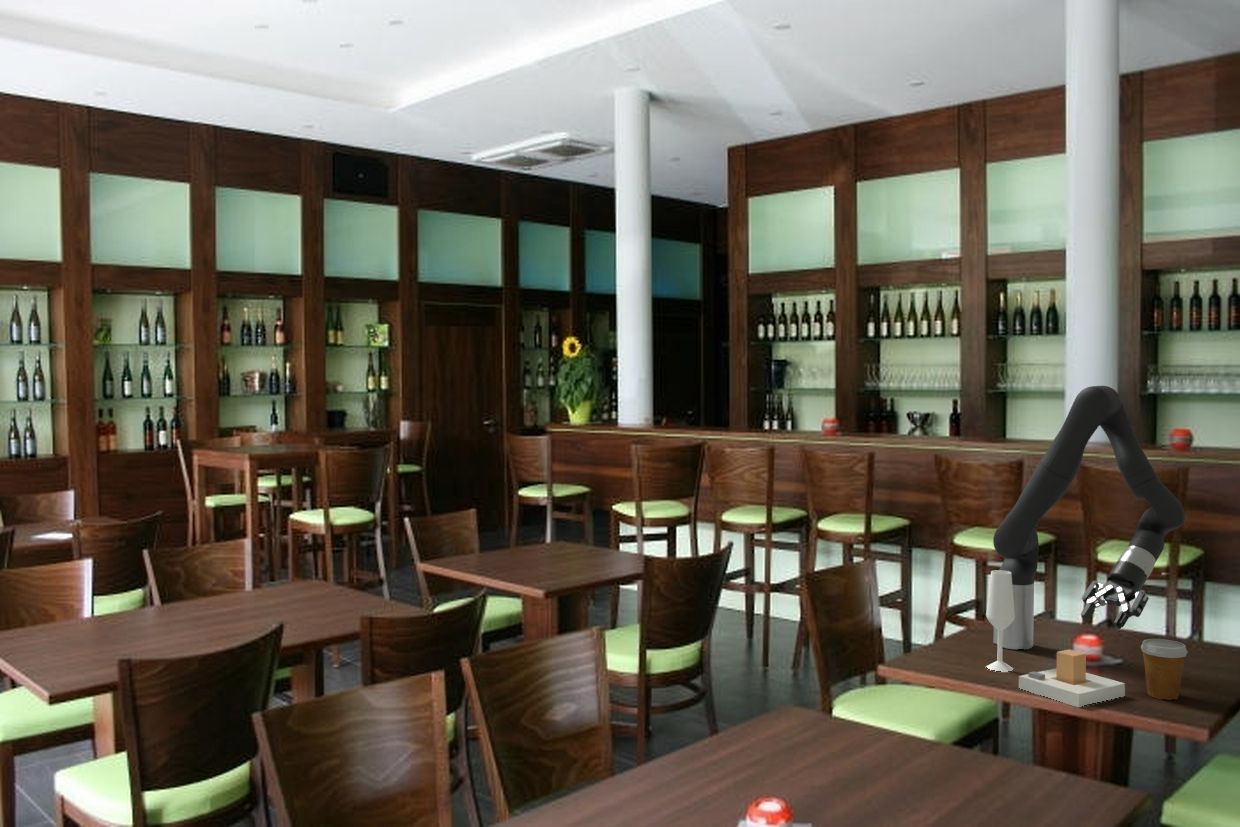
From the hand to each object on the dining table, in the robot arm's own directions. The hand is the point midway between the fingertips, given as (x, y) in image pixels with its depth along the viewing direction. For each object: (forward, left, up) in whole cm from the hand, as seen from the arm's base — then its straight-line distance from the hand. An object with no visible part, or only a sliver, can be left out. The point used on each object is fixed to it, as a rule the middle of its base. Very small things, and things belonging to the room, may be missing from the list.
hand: (1100, 623), depth 252 cm
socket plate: (0, -10, -15) cm, 18 cm away
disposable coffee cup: (+12, +6, -15) cm, 20 cm away
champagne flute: (-22, -8, -15) cm, 28 cm away
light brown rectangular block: (0, -10, -15) cm, 18 cm away
